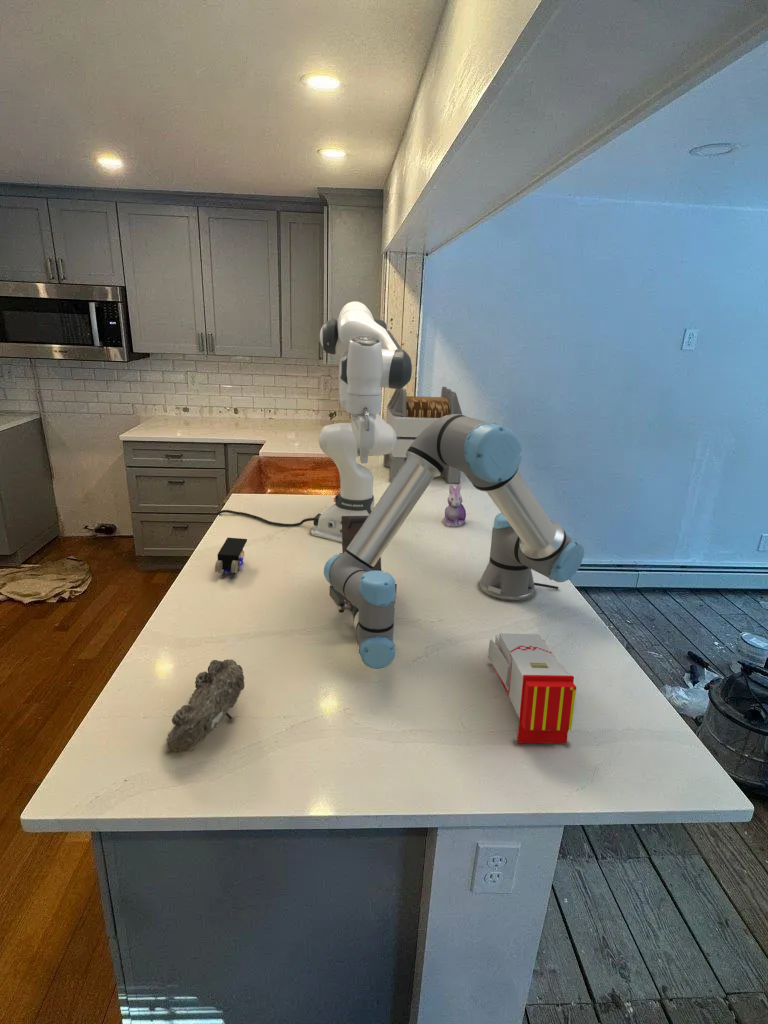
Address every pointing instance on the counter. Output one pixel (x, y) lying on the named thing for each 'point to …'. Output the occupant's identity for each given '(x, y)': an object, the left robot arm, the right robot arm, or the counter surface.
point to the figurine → (454, 508)
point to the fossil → (206, 705)
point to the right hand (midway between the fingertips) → (360, 576)
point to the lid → (354, 533)
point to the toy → (534, 687)
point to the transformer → (417, 424)
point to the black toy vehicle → (230, 556)
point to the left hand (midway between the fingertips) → (362, 458)
